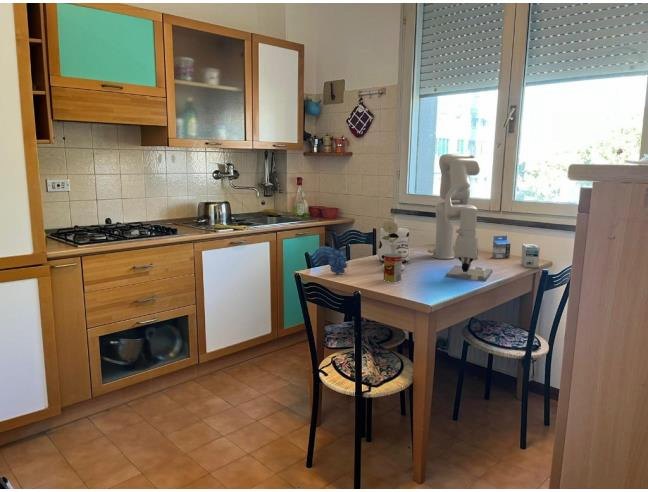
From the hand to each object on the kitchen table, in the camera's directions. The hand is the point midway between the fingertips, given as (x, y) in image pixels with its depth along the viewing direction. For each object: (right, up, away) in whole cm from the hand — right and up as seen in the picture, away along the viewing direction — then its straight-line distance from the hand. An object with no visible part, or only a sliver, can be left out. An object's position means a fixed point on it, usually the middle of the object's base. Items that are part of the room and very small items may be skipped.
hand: (465, 271), depth 222 cm
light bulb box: (+41, +1, +25) cm, 48 cm away
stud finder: (+5, -1, -2) cm, 5 cm away
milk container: (-29, +3, +33) cm, 44 cm away
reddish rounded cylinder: (+8, +1, +21) cm, 22 cm away
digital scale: (+4, -2, +5) cm, 7 cm away
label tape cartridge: (+34, +5, +44) cm, 56 cm away
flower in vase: (-33, -1, +13) cm, 35 cm away
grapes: (-59, -2, +3) cm, 60 cm away
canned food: (-35, -4, -7) cm, 36 cm away
